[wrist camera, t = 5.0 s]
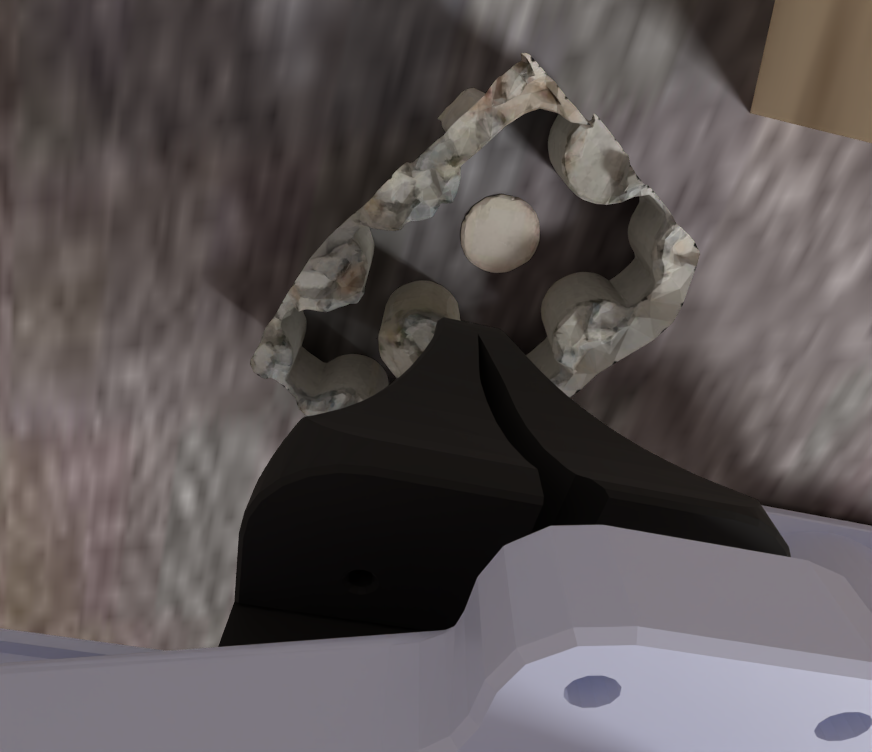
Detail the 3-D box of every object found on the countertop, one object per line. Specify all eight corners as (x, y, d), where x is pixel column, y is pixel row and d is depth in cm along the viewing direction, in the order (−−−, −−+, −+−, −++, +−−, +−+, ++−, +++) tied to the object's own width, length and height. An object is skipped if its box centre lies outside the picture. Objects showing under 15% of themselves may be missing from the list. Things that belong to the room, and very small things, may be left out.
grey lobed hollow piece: (514, 24, 14) (539, 19, 10) (683, 241, 16) (750, 296, 13) (252, 308, 18) (205, 375, 14) (424, 446, 20) (421, 531, 17)
